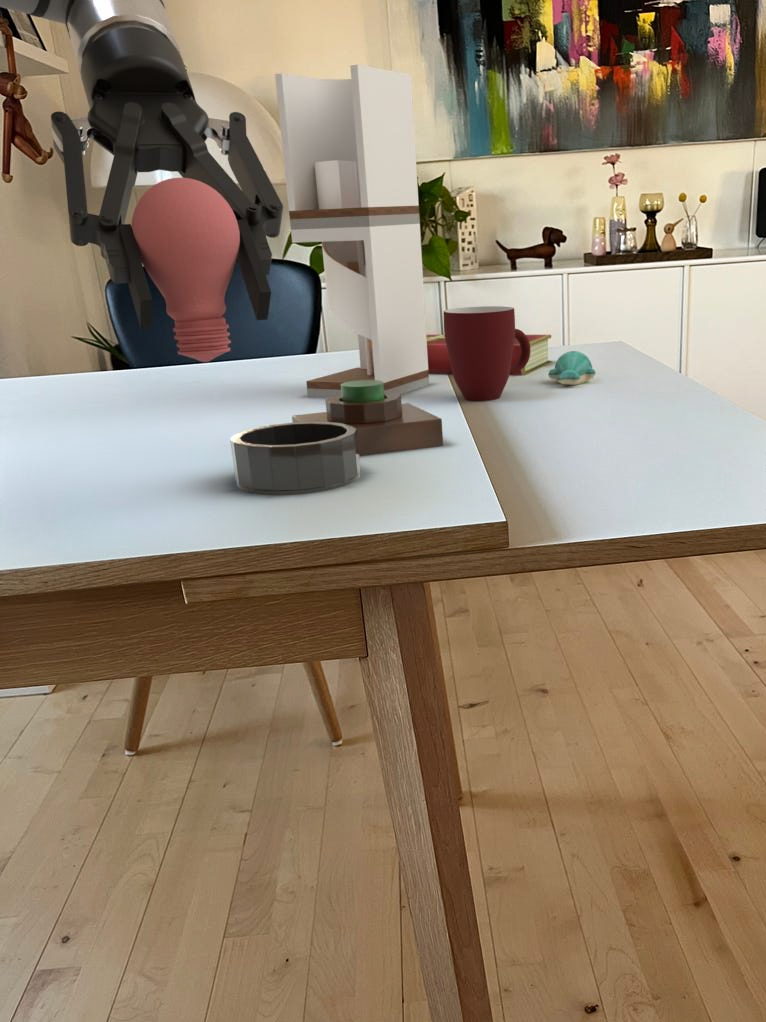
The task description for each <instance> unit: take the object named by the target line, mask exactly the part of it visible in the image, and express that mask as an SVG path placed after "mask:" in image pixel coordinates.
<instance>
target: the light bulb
mask: <svg viewBox="0 0 766 1022" xmlns="http://www.w3.org/2000/svg"><path fill="white" fill-rule="evenodd" d="M131 227H132V231H133V234H134V238H135V241H136V245H137V248H138V252H139V255H140V259H141V262H142V266H143V268H144V270H146V272H147V274H148V276H149V278H150V279H151V280H152V282H153V283H154V285H155V286H156V288H157V290H158V291H159V292H160V294H161V295H162V297H163V298H164V301H165V304H166V305H165V307H166V309H165V310H166V311H165V312H166V313H167V316H169V317H170V318H171V319H172V320H174V327H173V328H172V331H173V332H174V333H175V335H174V336H173V339H174V340H177V341H178V342H177V343H176V347H177V348H179V349H178V350H177V355H181V356H184V357H187V358H190V359H194V360H196V361H198V362H201V363H208V362H210V361H212V360H214V359H215V358H217V357H219V356H221V355H224V354H226V353H228V352H231V347H229V345H230V344H232V341H231V339H229V337H230V335H231V334H230V333H231V332H229V331H228V329H229V328H230V325H229V324H228V323H227V321H226V318H225V317H224V316H223V315H224V314H225V313H226V310H227V305H226V302H225V297H226V292H227V289H228V287H229V284H230V282H231V278H232V276H233V273H234V270H235V266H236V263H237V256H238V253H239V246H240V232H239V226H238V223H237V219H236V217H235V215H234V212H233V211H232V209H231V207H230V205H229V204H228V203H227V201H226V200H225V199H224V198H223V197H222V196H221V195H220V194H219V193H218V192H217V191H216V190H215V189H213V188H212V187H210V186H208V185H207V184H205V183H203V182H200V181H197V180H194V179H190V178H183V177H172V178H171V177H170V178H167V179H164V180H162V181H159V182H156V183H155V184H153V185H152V186H151V187H150V188H148V189H147V190H146V191H145V192H144V193H143V194H142V196H141V197H140V198H139V200H138V202H137V203H136V205H135V207H134V211H133V213H132V218H131Z"/></svg>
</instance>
